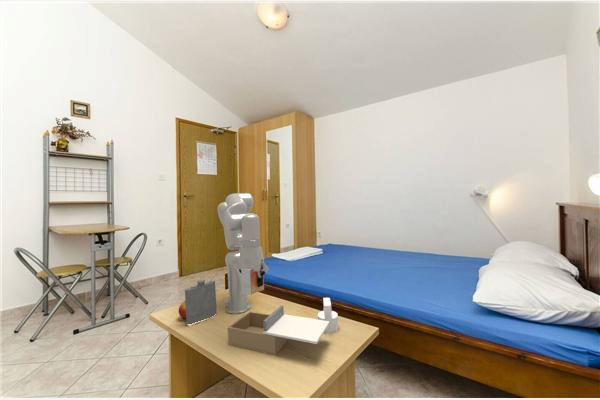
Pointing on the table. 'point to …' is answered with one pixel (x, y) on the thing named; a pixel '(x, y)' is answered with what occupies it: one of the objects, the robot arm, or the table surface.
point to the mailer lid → (294, 327)
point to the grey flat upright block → (200, 301)
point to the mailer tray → (254, 334)
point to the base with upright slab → (329, 316)
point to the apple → (182, 310)
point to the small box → (250, 281)
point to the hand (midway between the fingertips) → (253, 284)
